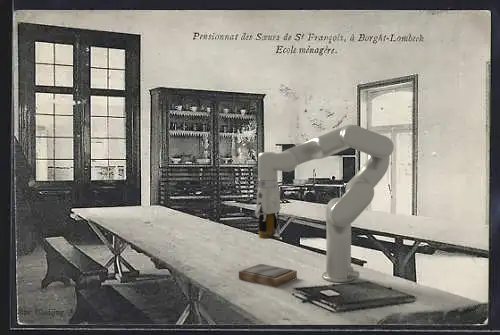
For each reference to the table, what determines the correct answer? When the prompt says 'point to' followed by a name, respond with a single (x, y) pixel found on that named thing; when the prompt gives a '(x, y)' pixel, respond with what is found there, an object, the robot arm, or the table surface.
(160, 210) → the table surface
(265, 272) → the tray
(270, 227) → the condiment
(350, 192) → the robot arm
